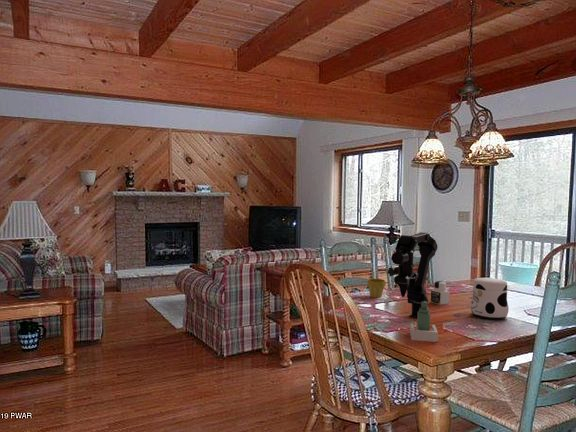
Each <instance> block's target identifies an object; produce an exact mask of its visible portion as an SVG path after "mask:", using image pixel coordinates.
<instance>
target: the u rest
mask: <svg viewBox="0 0 576 432" xmlns="http://www.w3.org/2000/svg"><path fill="white" fill-rule="evenodd" d="M409 334H410V339H411V341H419V342H421V341H422V342H430V343H431V342H432V343H433V342H434V343H439V342H438V339H439V336H438V335H439V332H438V330H437V326H436V325H435V324H432V325H431V330H430V331H426V330H417V329H415V327H414V323H412V322H411V323H409Z"/></svg>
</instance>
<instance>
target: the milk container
mask: <svg viewBox="0 0 576 432" xmlns="http://www.w3.org/2000/svg"><path fill="white" fill-rule="evenodd" d="M509 309H510V308H509V304H508V282H507V281H506V280H503V279H499V278H493V277H491V278H490V277H477V278H474V279H473V283H472V298H471V301H470V311H471V313H472V314H473V315H475V316H476V317H480V318H484V319H488V320H502V319H504V318H506V317H507V316H508V314H509Z"/></svg>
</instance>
